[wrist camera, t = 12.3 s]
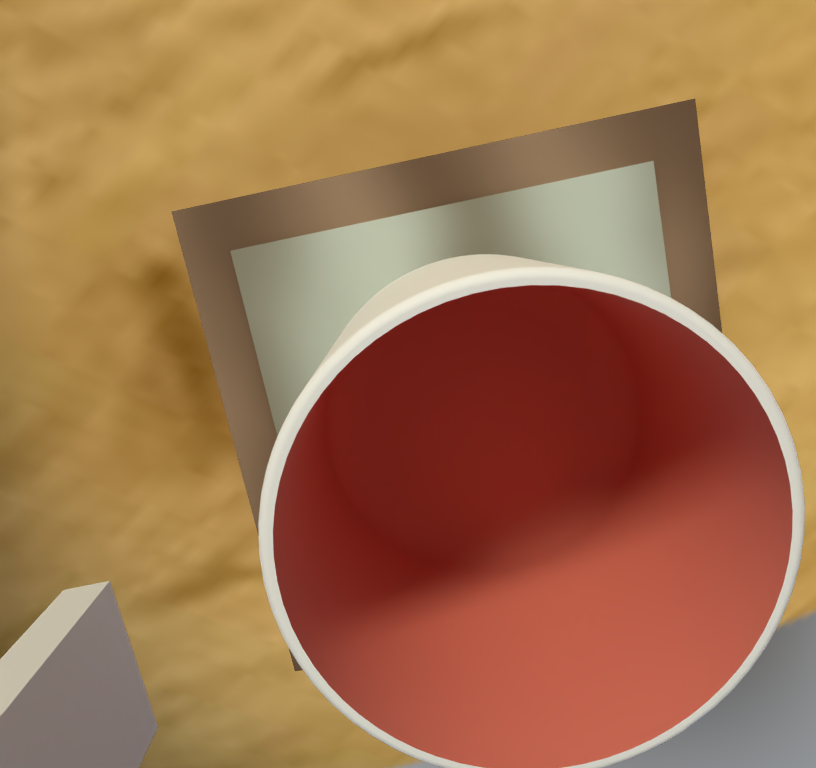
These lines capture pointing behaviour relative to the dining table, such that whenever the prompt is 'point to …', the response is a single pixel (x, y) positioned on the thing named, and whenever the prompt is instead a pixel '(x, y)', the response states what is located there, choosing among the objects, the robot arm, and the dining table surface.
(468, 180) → the footstool
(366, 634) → the cup
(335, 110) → the dining table surface
